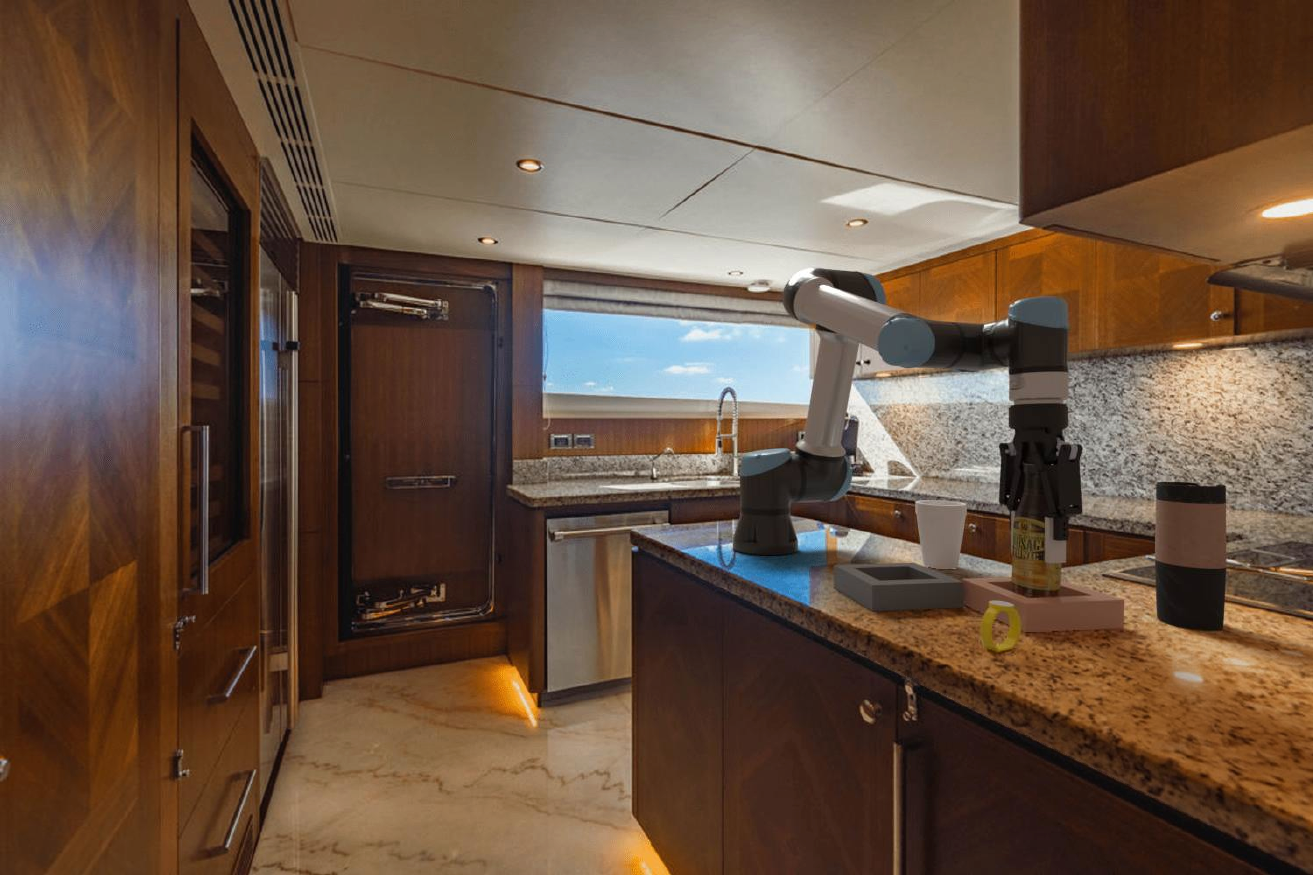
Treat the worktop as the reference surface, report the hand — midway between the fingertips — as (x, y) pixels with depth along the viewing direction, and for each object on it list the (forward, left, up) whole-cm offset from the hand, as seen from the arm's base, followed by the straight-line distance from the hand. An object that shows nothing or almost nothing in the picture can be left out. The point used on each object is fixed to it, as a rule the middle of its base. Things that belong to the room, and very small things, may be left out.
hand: (1037, 557), depth 89 cm
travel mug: (+6, +19, -9) cm, 22 cm away
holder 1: (-12, -16, -9) cm, 22 cm away
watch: (+12, -15, -9) cm, 21 cm away
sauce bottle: (0, 0, -6) cm, 6 cm away
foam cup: (-32, +5, -9) cm, 34 cm away
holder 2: (0, 0, -9) cm, 9 cm away
